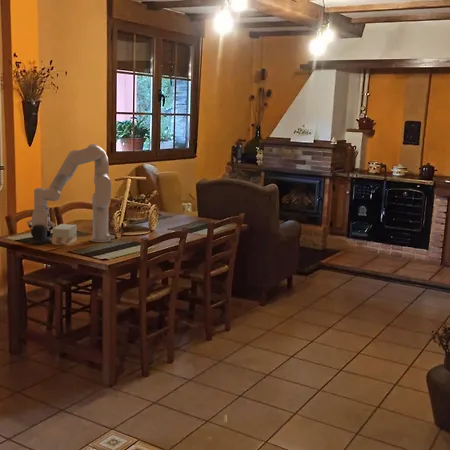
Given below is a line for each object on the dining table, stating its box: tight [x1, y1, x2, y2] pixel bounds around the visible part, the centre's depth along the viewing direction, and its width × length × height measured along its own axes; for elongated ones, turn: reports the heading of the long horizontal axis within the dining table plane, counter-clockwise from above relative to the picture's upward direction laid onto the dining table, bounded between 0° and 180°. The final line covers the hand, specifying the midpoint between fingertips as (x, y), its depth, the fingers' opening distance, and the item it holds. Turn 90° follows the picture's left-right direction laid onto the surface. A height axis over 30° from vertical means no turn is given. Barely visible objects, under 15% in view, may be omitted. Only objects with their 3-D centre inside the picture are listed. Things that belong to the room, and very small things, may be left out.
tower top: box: [51, 223, 78, 238], centre depth 361 cm, size 10×14×5 cm
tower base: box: [51, 233, 78, 246], centre depth 363 cm, size 10×14×5 cm
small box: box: [32, 226, 51, 245], centre depth 359 cm, size 11×6×10 cm, turn 168°
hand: (40, 236), depth 360 cm, fingers open, 9 cm apart
